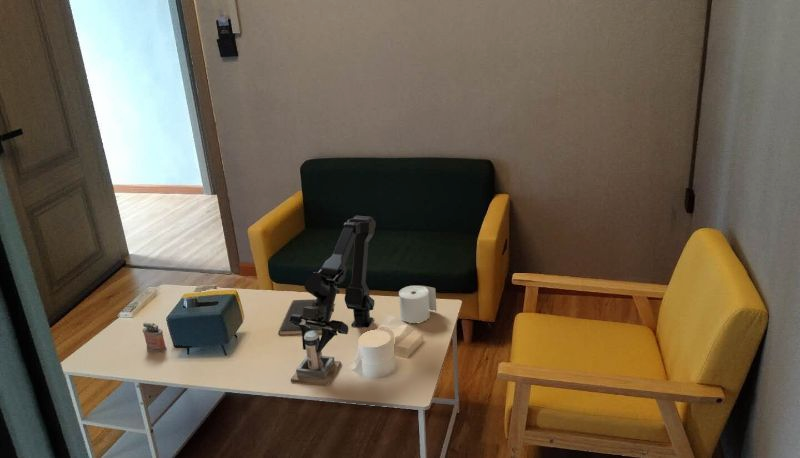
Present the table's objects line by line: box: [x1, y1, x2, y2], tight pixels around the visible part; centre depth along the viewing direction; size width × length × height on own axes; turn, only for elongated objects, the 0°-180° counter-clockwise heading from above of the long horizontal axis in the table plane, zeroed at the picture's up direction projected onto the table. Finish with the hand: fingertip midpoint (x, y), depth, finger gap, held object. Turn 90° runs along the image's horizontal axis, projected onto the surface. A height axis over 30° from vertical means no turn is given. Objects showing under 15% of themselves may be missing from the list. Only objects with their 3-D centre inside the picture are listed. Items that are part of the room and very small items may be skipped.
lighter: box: [142, 322, 167, 353], centre depth 214 cm, size 8×3×10 cm, turn 65°
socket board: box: [290, 355, 342, 387], centre depth 194 cm, size 12×12×4 cm
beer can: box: [304, 330, 323, 370], centre depth 192 cm, size 5×5×12 cm
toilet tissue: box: [398, 285, 437, 324], centre depth 223 cm, size 11×12×10 cm
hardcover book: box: [278, 298, 323, 336], centre depth 229 cm, size 16×23×2 cm
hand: (311, 350), depth 191 cm, fingers closed on beer can, 5 cm apart
